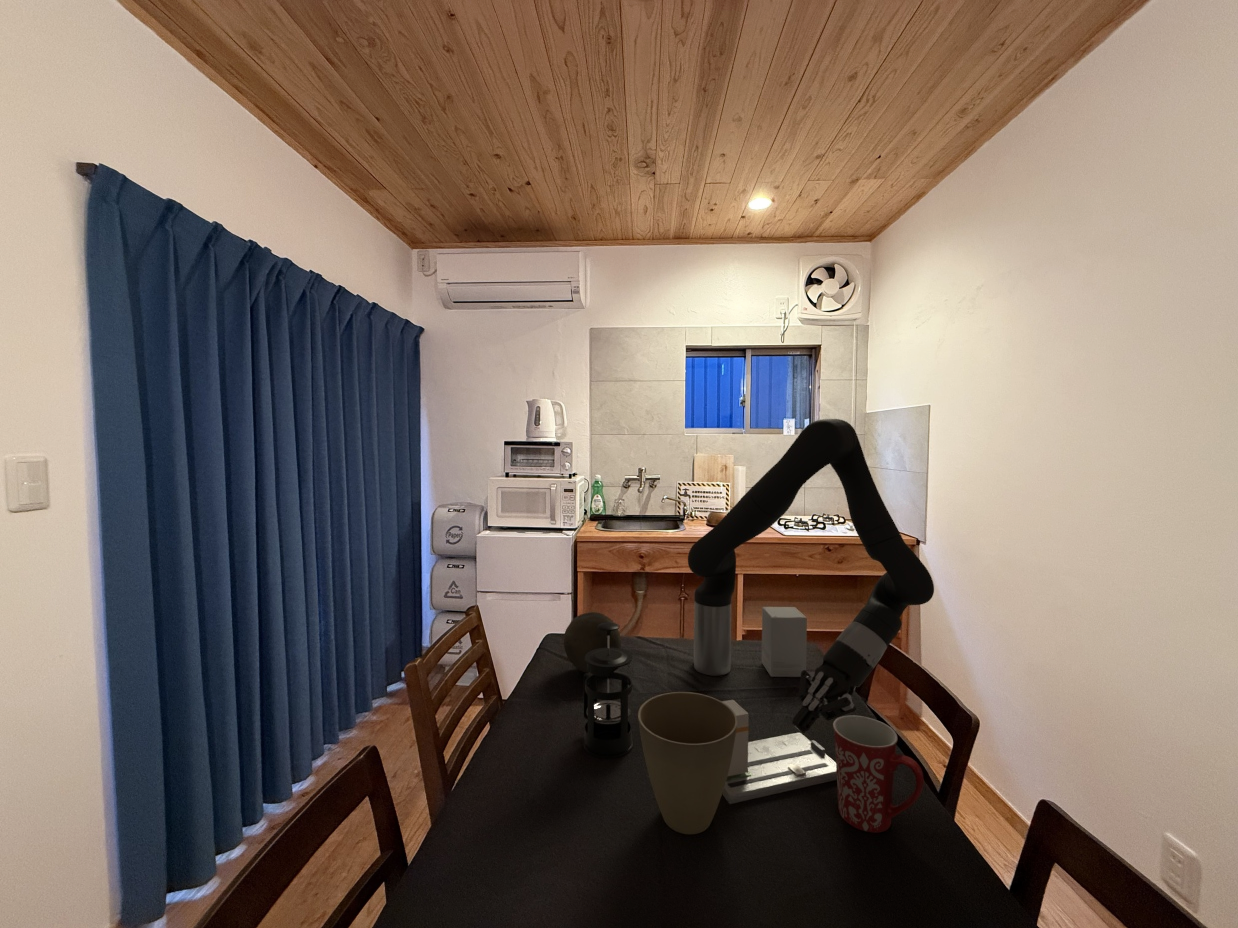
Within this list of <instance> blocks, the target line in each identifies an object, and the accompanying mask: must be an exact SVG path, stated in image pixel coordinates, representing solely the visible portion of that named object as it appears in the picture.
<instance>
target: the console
mask: <svg viewBox="0 0 1238 928" xmlns="http://www.w3.org/2000/svg"><path fill="white" fill-rule="evenodd" d="M833 781H837V773H836V760H833V759H832V758H831V757H830V756H829V755H827V753H826V749H825V748H824V747H823V746H822V745H821V744H820V743H818V742H817V741H816V740H815V739H813V740H810V739H808V738H807V737H806V736H805V735H803V733H802V732H801V731H800V732H796V733H795V732H794V733H789V734H783V735H779V736H774V737H769V738H764V739H763V738H761V739H759V740H758V739H757V740H753V741H748V772H747V773H742V774H737V775H732V776H727V779H726V783H725V786H724V789H723V793H722V796H723V797H724V799H725V800H726V802H727V803H728V804H729V805H733V804H737V803H740V802H746V801H750V800H753V799H754V800H755V799H759V798H763V797H767V796H771V795H775V794H780V793H784V792H790V791H794V790H797V789H802V788H806V787H810V786H816V785H820V784H823V783H829V782H833Z"/></svg>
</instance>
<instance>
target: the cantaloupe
mask: <svg viewBox="0 0 1238 928" xmlns="http://www.w3.org/2000/svg"><path fill="white" fill-rule="evenodd" d="M607 622H610V623H615V622H614V620H613V619H611V618H610V617H608V616H607V615H605V614H604V613H601V612H596V611H591V612H590V611H589V612H585V613H581V614H579V615H577V616H576V617H574V618H573V619H572V620H571V621H570V622H569V624H568V626H567V627H566V629H565V631H564V635H563V646H564V648H563V649H564V651H565V654H566V657H567V659H568V661H569V662H570V663H571V664H572V665H573V667H575V668H576V669H577V670H578V671H580V672H582V673H584V674H586V673H589V671H588V670H587V662H586V661H585V655H586V654H587V653H588V652H590V651H592V650H595V649H599V648H608V636H607V635H606V631H603V630H600V629H598V625H599V624H601V623H607ZM621 637H622V636H621V634H620V631H619V629H617V630H614V631H611V635H610V639H609V648H618V649H622V639H621Z"/></svg>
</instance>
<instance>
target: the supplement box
mask: <svg viewBox="0 0 1238 928" xmlns="http://www.w3.org/2000/svg"><path fill="white" fill-rule="evenodd" d="M761 610H762V613H761V614H762V615H761V616H762V617H761V627H762V628H761V664H762V665H763V666H764V668H765V670H766V671H767V672H768V674H769V676H770V677H771V678H773V677H775V678H776V677H777V678H779V677H780V678H781V677H782V678H783V677H784V678H785V677H786V678H801V672H802V671H803V670H806V671H807V635H808V632H807V630H808V617H806V616H805V614H803V613H802V612H801V611H800V610H798V609H797V607H796V606H763V607H762V609H761Z"/></svg>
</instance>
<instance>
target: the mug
mask: <svg viewBox="0 0 1238 928" xmlns="http://www.w3.org/2000/svg"><path fill="white" fill-rule="evenodd" d="M832 728H833V731H834V749H835V750H834V751H835V752H834V753H835V762H836V773H837V780H836V784H837V785H836V786H837V806H838V807H837V808H838V812H839V815H840V816H841V818H842V820H844V821H845V823H847V824H849V825H850V826H852V827H854V828H855V829H858V830H860V831H863V832H867V833H873V834H874V833H876V834H877V833H883V832H885V831H887V830H888V829H889V828H890V827H891V824H892V818H894V817H896V816H897V815H899V814H901V813H903V812H904V811H907V809H909V808H910V807H911V806H912V805H913V804H914V803H915V802H916V801H917V800H918V798H919V796H920V795H921V793H922V790H923V788H924V782H925V781H924V780H925V779H924V773H923V770H922V768H921V766H920V764H919V763H918V762H917V761H916V760H914V759H913V758H912V757H909V756H907V755H903V754H897V753H896V750H897V749H896V747H897V743H898V734H897V732H896V731H895V730H894V729H893V728H892V727H891V726H889V725H888V724H886V723H884V722H882V721H880V720H877V719H875V718H872V717H868V716H862V715H854V714H853V715H850V714H849V715H843V716H840V717H837V718H835V720H834V721H833V722H832ZM900 765H904V766H906V767H908V768H909V769H910V770H911V771H912V773H913V774H914V776H915V788H914V791H913V792H912V794H911V795H910V796H908V797H907V798H906V799H905V800H903V801H902V802H900V803H899V804H896V805H895V804H893V794H894V793H893V792H894V779H895V772H896V770H897V768H898V767H899V766H900Z"/></svg>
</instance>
